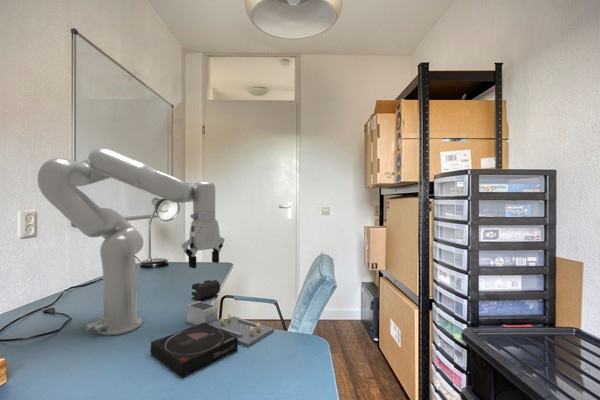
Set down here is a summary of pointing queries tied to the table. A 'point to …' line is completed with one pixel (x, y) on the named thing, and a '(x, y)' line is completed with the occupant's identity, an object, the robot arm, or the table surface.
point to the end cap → (205, 289)
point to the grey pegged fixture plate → (244, 330)
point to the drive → (201, 313)
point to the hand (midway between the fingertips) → (204, 264)
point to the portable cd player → (193, 348)
